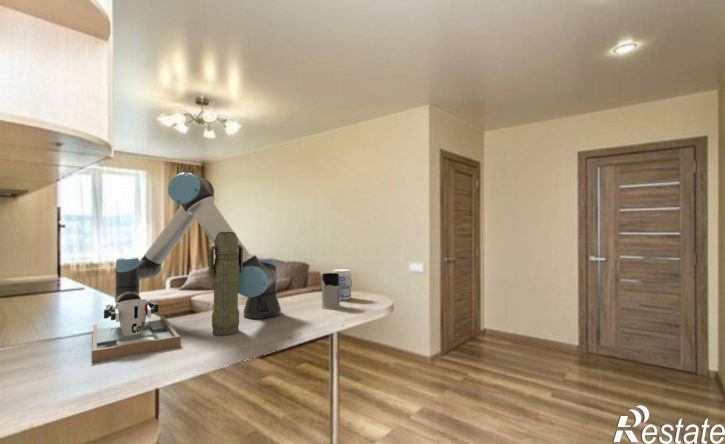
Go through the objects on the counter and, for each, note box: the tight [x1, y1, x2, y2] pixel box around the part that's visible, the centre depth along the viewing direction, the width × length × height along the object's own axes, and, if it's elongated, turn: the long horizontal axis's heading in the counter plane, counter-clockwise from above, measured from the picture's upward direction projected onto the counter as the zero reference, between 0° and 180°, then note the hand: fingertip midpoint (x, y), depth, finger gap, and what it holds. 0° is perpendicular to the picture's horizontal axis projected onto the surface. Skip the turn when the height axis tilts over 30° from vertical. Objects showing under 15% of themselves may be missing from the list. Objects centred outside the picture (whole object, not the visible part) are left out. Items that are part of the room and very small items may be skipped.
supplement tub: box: [332, 268, 352, 301], centre depth 185 cm, size 10×10×15 cm
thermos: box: [208, 231, 243, 337], centre depth 127 cm, size 9×12×35 cm
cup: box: [117, 298, 149, 336], centre depth 115 cm, size 8×8×10 cm
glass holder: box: [320, 272, 353, 310], centre depth 167 cm, size 9×14×15 cm, turn 93°
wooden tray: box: [91, 315, 182, 363], centre depth 121 cm, size 36×22×3 cm, turn 36°
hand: (133, 315), depth 111 cm, fingers closed on cup, 8 cm apart
